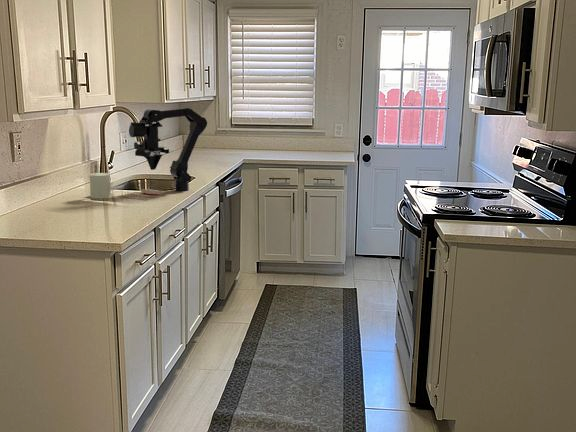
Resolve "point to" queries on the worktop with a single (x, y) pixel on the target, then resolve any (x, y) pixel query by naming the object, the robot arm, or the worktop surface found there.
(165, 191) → the tile
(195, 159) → the worktop surface
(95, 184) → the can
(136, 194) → the board
